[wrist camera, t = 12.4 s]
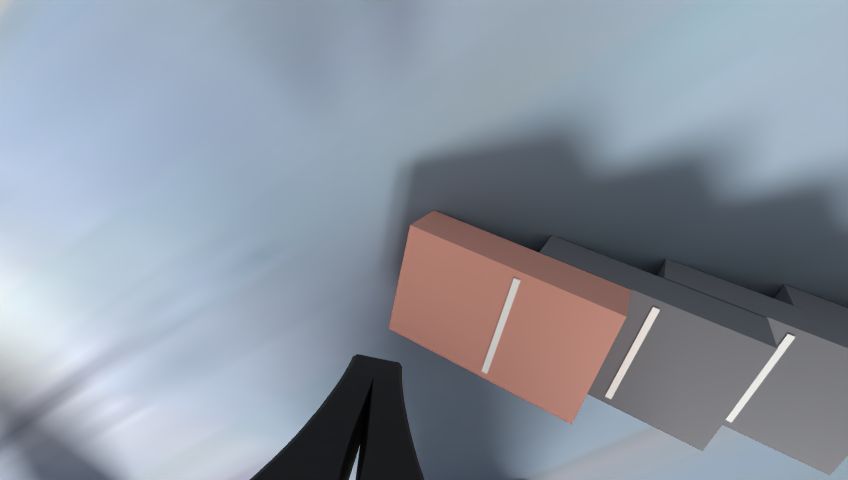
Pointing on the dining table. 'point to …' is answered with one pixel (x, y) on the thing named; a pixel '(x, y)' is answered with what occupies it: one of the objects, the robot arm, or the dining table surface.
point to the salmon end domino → (507, 312)
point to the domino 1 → (673, 350)
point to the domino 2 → (788, 375)
